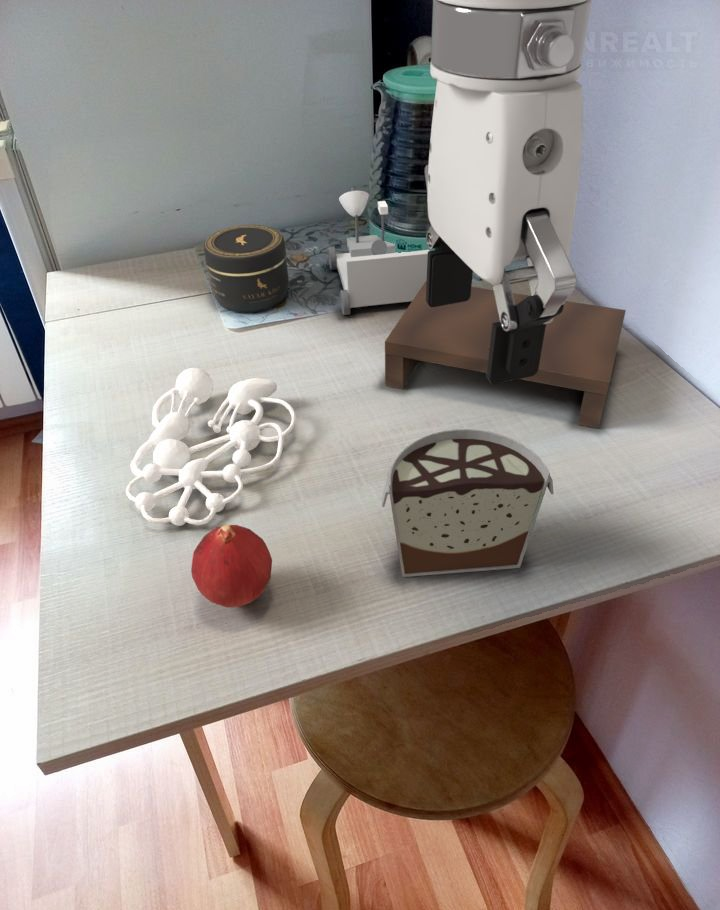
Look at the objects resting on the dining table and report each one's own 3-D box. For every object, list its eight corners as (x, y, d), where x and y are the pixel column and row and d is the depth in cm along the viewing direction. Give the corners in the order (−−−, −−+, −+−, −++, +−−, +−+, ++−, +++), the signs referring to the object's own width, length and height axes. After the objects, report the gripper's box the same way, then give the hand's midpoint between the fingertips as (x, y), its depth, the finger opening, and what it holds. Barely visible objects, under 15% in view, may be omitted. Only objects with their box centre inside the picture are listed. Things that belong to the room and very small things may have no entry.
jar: (230, 324, 86) (220, 265, 81) (201, 291, 92) (190, 235, 87) (303, 301, 89) (298, 244, 84) (271, 271, 96) (264, 216, 91)
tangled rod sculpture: (250, 552, 59) (247, 520, 56) (90, 520, 61) (79, 487, 58) (309, 409, 73) (309, 377, 70) (177, 386, 75) (172, 354, 72)
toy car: (321, 185, 93) (408, 177, 94) (326, 255, 99) (407, 247, 100) (339, 242, 79) (440, 232, 80) (344, 319, 86) (437, 309, 87)
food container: (519, 511, 60) (534, 418, 54) (538, 566, 56) (557, 472, 49) (376, 521, 60) (374, 430, 53) (383, 578, 55) (381, 485, 49)
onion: (187, 616, 53) (164, 545, 48) (223, 561, 57) (206, 490, 52) (256, 638, 52) (240, 567, 46) (289, 579, 56) (278, 507, 50)
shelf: (615, 354, 78) (625, 309, 75) (598, 429, 68) (609, 382, 65) (425, 321, 85) (426, 279, 81) (385, 386, 75) (384, 341, 71)
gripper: (681, 73, 30) (599, 400, 41) (498, 5, 42) (474, 270, 53) (520, 93, 28) (481, 427, 39) (379, 16, 40) (380, 287, 52)
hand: (477, 337), depth 46 cm, fingers open, 9 cm apart
